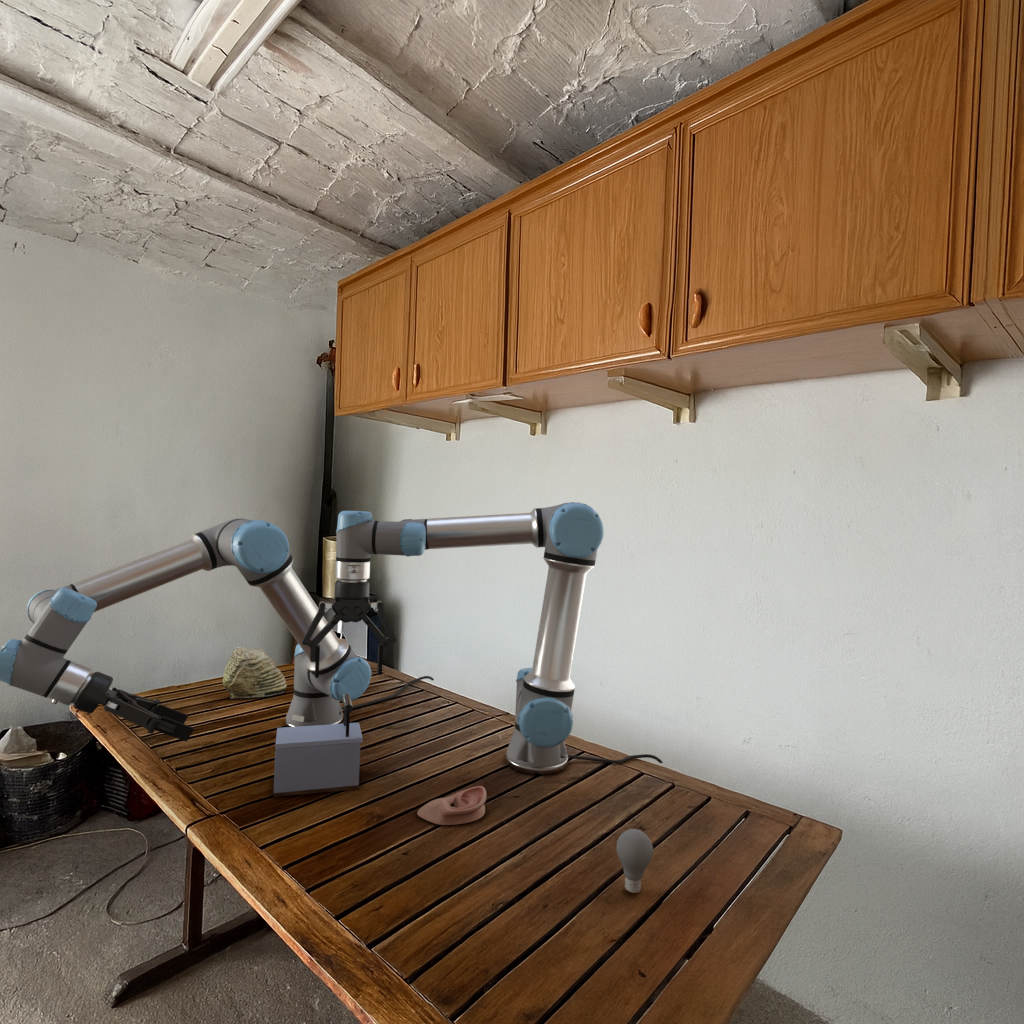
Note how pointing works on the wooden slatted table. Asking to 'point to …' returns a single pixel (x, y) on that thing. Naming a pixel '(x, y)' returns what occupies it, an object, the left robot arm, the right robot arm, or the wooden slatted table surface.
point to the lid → (321, 732)
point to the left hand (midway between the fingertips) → (187, 727)
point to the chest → (316, 769)
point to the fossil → (252, 674)
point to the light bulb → (634, 857)
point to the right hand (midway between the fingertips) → (348, 675)
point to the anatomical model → (456, 807)
